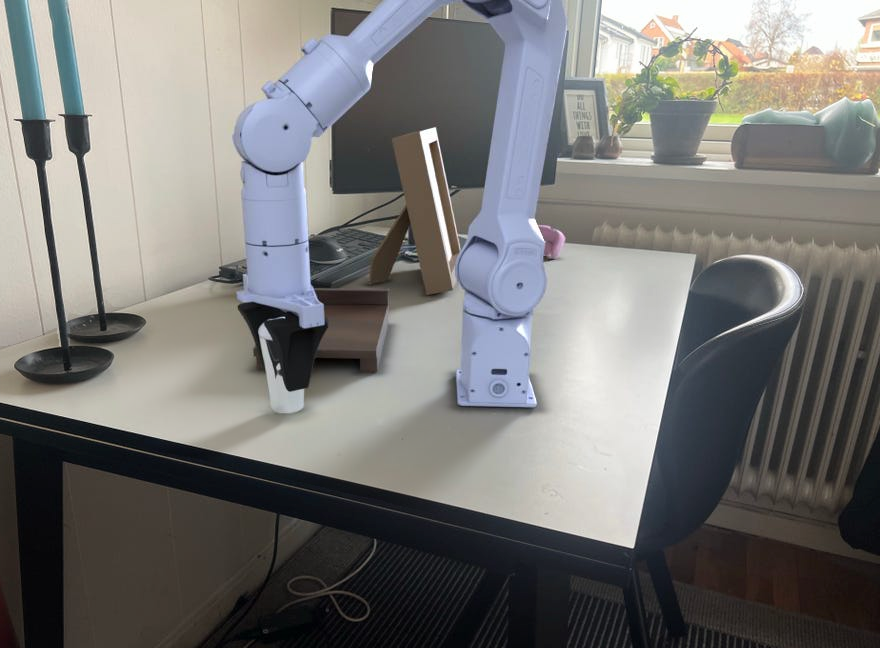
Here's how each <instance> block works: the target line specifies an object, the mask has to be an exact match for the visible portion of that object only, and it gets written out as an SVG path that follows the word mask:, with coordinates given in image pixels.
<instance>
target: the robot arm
mask: <svg viewBox="0 0 880 648" xmlns="http://www.w3.org/2000/svg"><path fill="white" fill-rule="evenodd" d="M459 2H460V3H461V4H462V5H464V6H465V7H467V8H468V9H470V10H472V11H473V12H474V13H476V14H477V15H479V16H480V17H482V18H483V19H484V20H486V21H487V22H488V23H489V24H490V26H491V27H492V29H493V30H494V31H495V32H496V34H497V35H498V37H500V39H501V40H502V41H503V43H504V46H505V47H504V52H503V53H504V54H503V60H502V67H501V73H500V79H499V87H498V93H497V101H496V107H495V114H494V122H493V127H492V133H491V134H492V135H491V140H490V148H489V153H488V160H487V161H488V162H487V168H486V173H485V174H486V175H485V182H484V189H483V195H482V202H481V207H480V208H481V209H480V212H479V213H478V214H477V215H476V217H475V218H474V219H473V221H472V222H471V223H470V225H469V226H468V230H467V237H466V240H465V242H464V245H463V247H462V248H461V251H460V253H459V254H458V256H457V259H456V262H455V275H456V279H457V281H456V282H457V283H458V285H459V286H460V287H461V288H462V290H464V298H463V302H462V322H461V324H462V325H461V348H460V349H461V353H460V368H459V369H457V370H455V381H456V397H457V405H458V406H461V407H495V408H496V407H497V408H498V407H501V408H536V407H537V405H538V402H537V399H536V396H535V393H534V389H533V386H532V383H531V380H530V363H531V362H530V361H531V338H532V337H531V336H532V321H533V315H534V309H535V308H536V307H537V306H538V305H539V303H540V302H541V301H542V300H543V297H544V295H545V293H546V290H547V287H548V286H547V284H548V275H547V272H546V271H547V270H546V267H545V264H544V263H545V262H544V256H545V255H544V248H545V242H546V241H544V239H543V237H542V235H541V233H540V231H539V228H538V226H537V225H538V224H537V221H536V218H535V217H536V212H537V206H538V201H539V193H540V188H541V182H542V178H543V177H542V176H543V170H544V166H545V159H546V154H547V149H548V143H549V136H550V132H551V131H550V130H551V126H552V125H551V124H552V119H553V114H554V113H553V112H554V106H555V102H556V96H557V90H558V83H559V78H560V72H561V67H562V60H563V54H564V48H565V43H566V37H567V32H568V31H567V30H568V28H567V27H568V20H567V15H566V10H565V5H564V0H382V1H381V2H380V3H378V5H376V7H375V8H374V9H373V10H371V12H370V13H369V14H368V15H367V16H366V17H365V18H363V20H362V21H361V22H360V23H359V24H358V25H357V26H356V27H355V28H354V29H353V30H352V31H351V32H350V33H349V34H348V35H347V36H346V35H339V34H338V35H337V34H331V33H329V34H325V35H324V36H323V37H322V38H321V39H319V40H317V39H316V38H315V37H313V38H310V39H309V40H307V41H306V42H305V43H304V44H303V45H302V46H301V47H300V50H301V52H302V53H303V54H304V55H303V56H301V58H299V60H297V61H296V62H295V63H294V64H293V65H292V66H291V67H290V68H289V69H288V70H287V71H286V72H284V74H282V76H280V77H279V79H277V80H276V81H275V82H273V80H268V81H267V82H266V83H264V85H262V87H261V91H262V92H263V94H264V95H265V96H266V98H265V99H261V100H259V101H256V102H253V103H251V104H249V105H248V106H246V107H245V108H243V110H242V111H241V112H240V113H239V115H238V116H237V118H236V121H235V125H234V128H233V134H231V138H232V139H231V140H232V143H233V146H234V149H235V151H236V152H237V154H238V156H239V157H240V158H241V159H243V160H241V161H240V165H241V166H240V171H239V172H240V180H241V182H242V188H241V191H240V197H241V208H242V221H243V235H244V244H245V246H244V247H245V258H246V259H245V261H246V262H247V265H246V270H247V272H246V273H243V274H242V284H243V289H241V290H237V291H236V299H237V300H238V301H239V302H241V303H239V304H238V305H237V310H238V312H239V313H240V315H241V317H243V319H244V321H245V323H246V326H247V327H248V329H249V331H250V334H251V336H252V338H253V342H254V344H255V345H256V348H257V351H258V354H259V358H260V361H261V364H262V367H263V369H264V370H263V372H264V374H266V370H265V364H264V359H263V355H262V349H261V344H260V338H259V333H258V330H259V328H260V326H261V325H262V324H263V323H264V326H265V327H266V329H267V330H268V332H269V334H270V336H271V338H272V340H273V342H274V345H275V347H276V350H277V354H278V357H279V362H280V368H281V373H282V378H283V382H284V385H285V387H286V390H287V391H289V392H292V391H296V390H301V389H304V390H305V389H309V387H310V383H311V379H312V374H313V369H314V363H315V359H316V358H315V356H316V352H317V349H318V346H319V344H320V342H321V339H322V337H323V335H324V334H325V332H326V330H327V329H328V327H329V319H328V318H326V317H324V304H322V303H321V302H319V301H318V299H317V296H316V294H315V291H314V289H313V288H314V286H313V285H312V284H311V283H312V282H311V267H310V266H311V265H310V248H309V247H310V244H309V227H308V223H309V222H308V206H307V205H308V204H307V203H308V202H307V190H306V188H305V179H304V176H305V175H304V162H305V161H306V160H307V158H308V156H309V153H310V150H311V147H312V139H313V138H320V137H321V136H323V134H324V133H325V132H326V131H328V130H329V129H330V127H332V126H333V125H334V124H335V123H336V122H337V121H338V120H339V119H341V118H342V116H343V115H345V113H347V111H348V110H349V109H351V108H352V107H353V106H354V105H355V104H356V103H357V102H358V101H359V100H361V98H363V96H365V95H366V93H368V92H369V91H370V89H371V86H372V76H373V69H374V65H375V64H376V63H377V62H379V61H380V60H381V59H382V58H384V56H385V55H386V54H388V53H389V52H390V51H391V50H393V48H395V46H397V45H398V44H399V43H400V42H402V40H404V39H405V38H406V37H407V36H408V35H409V34H411V33H412V32H413V31H414V30H415V29H416V28H418V27H419V25H421V24H422V23H423V22H424V21H425V20H427V19H428V18H429V17H430V16H431V15H432V14H433V13H434V12H436V11H437V10H438V9H439V8H440V7H445V6H451V5H453V4H456V3H459ZM279 317H285V318H279ZM275 318H279V319H275ZM268 319H273V320H268ZM255 345H254V346H255Z"/></svg>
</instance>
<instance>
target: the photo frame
mask: <svg viewBox="0 0 880 648" xmlns="http://www.w3.org/2000/svg"><path fill="white" fill-rule="evenodd" d="M437 131H438V130H437V127H436V126H435V127H430V128H427V129H422V130H417V131H413V132H410V133H407V134H406V133H405V134H403V135H399V136H395V137H392V138H391V143H392V146H393V147H392V148H393V151H394V155H395V159H396V164H397V169H398V174H399V178H400V183H401V187H402V192H403V196H404V200H405V205H404V207H403V209H402V210H401V212H400V213H399V214H398V216H397V218H396V219H395V221H394V223H393V225H391V227H390V228H389V230H388V232H387V234H386V235H385V236H384V238H383V240H382V241H381V243H380V244H379V246H378V247H377V249H376V251H375V252H374V254H373V255H372V257H371V259H370V265H369V266H370V267H369V276H368V284H369V285H372V284H376V283H377V284H378V283H380V282H381V283H382V282H385V281H386V282H387V281H389V278H390V275H391V273H392V270H393V269H394V266H395V263H396V260H397V258H398V255H399V253H400V251H401V248H402V245H403V243H404V240H405V238H406V236H407V234H408V233H407V232H408V231H409V228H411V231H412V236H413V240H414V245H415V249H416V254H417V258H418V263H419V267H420V272H421V276H422V280H423V285H424V289H425V294H426V296H429V295H430V296H431V295H434V294H435V295H436V294H441V293H445V292H450V291H454V289H455V286H456V283H457V282H458V281H457V279H456V275H455V262H456V259H457V256H458V254H459V253H460V251H461V249H462V248H461V244H460V239H459V235H458V230H457V225H456V224H457V223H456V220H455V215H454V210H453V204H452V200H451V196H450V195H451V194H450V191H449V185H448V180H447V176H446V175H447V174H446V171H445V167H444V161H443V156H442V151H441V147H440V142H439V141H440V140H439V137H438V132H437Z"/></svg>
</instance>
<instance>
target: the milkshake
mask: <svg viewBox="0 0 880 648" xmlns="http://www.w3.org/2000/svg"><path fill="white" fill-rule="evenodd" d="M279 318H285V317H279ZM279 318H275V319H279ZM268 320H273V319H268ZM258 333H259V338H260V344H261V349H262V355H263V359H264V364H265V370H266V373H265V375H266V383H267V389H268V396H269V403H270V407H271V410H272V411H273V412H275V413H278V414H293V413H296V412H297V413H298V412H299V411H300V410H302V409H303V408H304V407H305V389H301V390H296V391H292V392H289V391H287V390H286V387H285V385H284V382H283V378H282V373H281V368H280V362H279V357H278V354H277V350H276V347H275V345H274V342H273V340H272V338H271V336H270V334H269V332H268V330H267V329H266V327H265V326H264V323H263V324H262V325H261V326H260V328H259V330H258Z"/></svg>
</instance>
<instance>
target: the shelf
mask: <svg viewBox="0 0 880 648" xmlns="http://www.w3.org/2000/svg"><path fill="white" fill-rule="evenodd" d="M313 289H314V291H315V294H316V296H317V299H318V301H319V302H321V303H322V304H324V317H326V318H328V319H329V327H328V329H327V330H326V332H325V334H324V335H323V337H322V339H321V342H320V344H319V346H318V349H317V352H316V356H315V359H359V372H360V373H378V371H379V366H380V362H381V359H382V358H381V357H382V354H383V349H384V345H385V340H386V337H387V331H388V327H389V309H390V308H389V304H390V303H389V300H390V299H389V289H388V288H336V287H335V288H332V287H330V288H329V287H313ZM252 353H253V357H255V362H256V363H255V364H256V370H257V371H264V369H263V367H262V364H261V361H260V358H259V354H258V351H257V348H256V345H254V346H253V347H252Z"/></svg>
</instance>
